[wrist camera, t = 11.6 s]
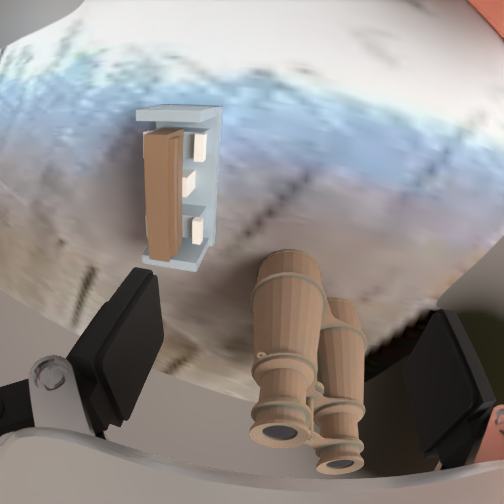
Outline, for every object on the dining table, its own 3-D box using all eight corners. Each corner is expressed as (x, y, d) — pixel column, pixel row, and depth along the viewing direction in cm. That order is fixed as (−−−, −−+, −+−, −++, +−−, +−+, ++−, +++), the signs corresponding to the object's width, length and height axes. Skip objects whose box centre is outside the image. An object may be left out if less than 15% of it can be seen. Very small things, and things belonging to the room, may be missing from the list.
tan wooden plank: (163, 127, 32) (143, 134, 27) (189, 128, 31) (172, 135, 27) (164, 238, 39) (149, 259, 34) (187, 242, 38) (174, 263, 34)
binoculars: (241, 272, 46) (199, 425, 24) (295, 233, 42) (290, 393, 20) (322, 350, 52) (325, 484, 30) (371, 323, 48) (398, 463, 26)
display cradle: (161, 104, 35) (131, 110, 28) (223, 106, 34) (205, 111, 27) (161, 233, 44) (139, 262, 37) (215, 241, 44) (200, 272, 37)
